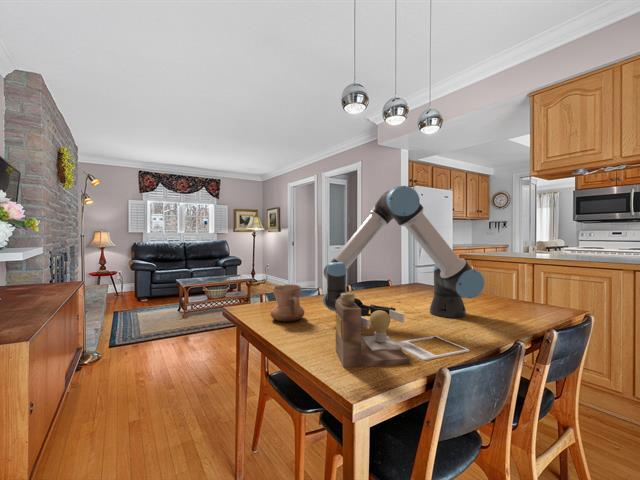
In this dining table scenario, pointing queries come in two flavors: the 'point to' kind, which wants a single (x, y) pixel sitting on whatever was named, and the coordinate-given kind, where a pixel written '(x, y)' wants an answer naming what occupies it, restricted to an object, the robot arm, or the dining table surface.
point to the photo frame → (423, 353)
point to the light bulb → (380, 324)
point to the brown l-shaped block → (361, 339)
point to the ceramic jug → (287, 303)
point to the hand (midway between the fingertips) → (386, 321)
